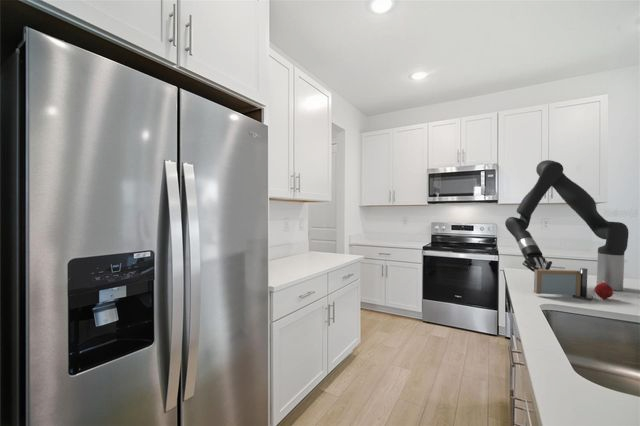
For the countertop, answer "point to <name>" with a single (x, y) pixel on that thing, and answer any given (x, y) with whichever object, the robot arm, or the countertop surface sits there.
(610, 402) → the countertop surface
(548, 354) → the countertop surface
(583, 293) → the post
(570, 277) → the wooden picture frame
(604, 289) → the onion
